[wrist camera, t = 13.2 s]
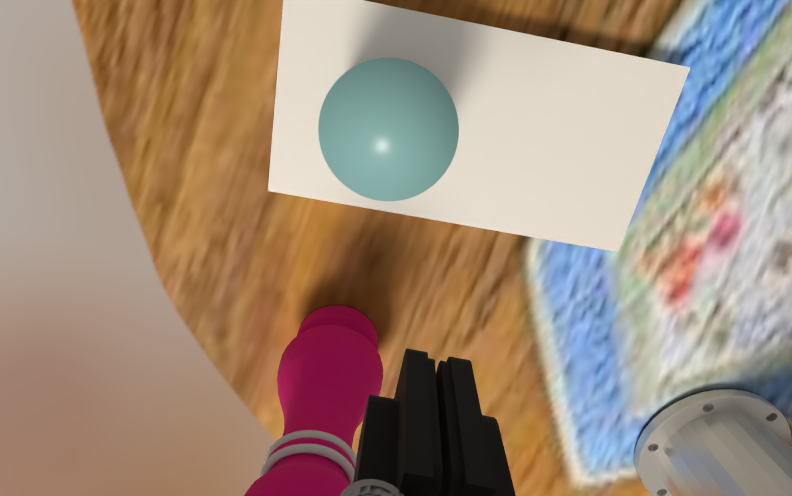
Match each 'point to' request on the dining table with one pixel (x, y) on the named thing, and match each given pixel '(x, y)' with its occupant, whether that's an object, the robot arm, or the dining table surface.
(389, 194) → the cap
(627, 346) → the dining table surface
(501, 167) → the board
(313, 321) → the pepper mill
